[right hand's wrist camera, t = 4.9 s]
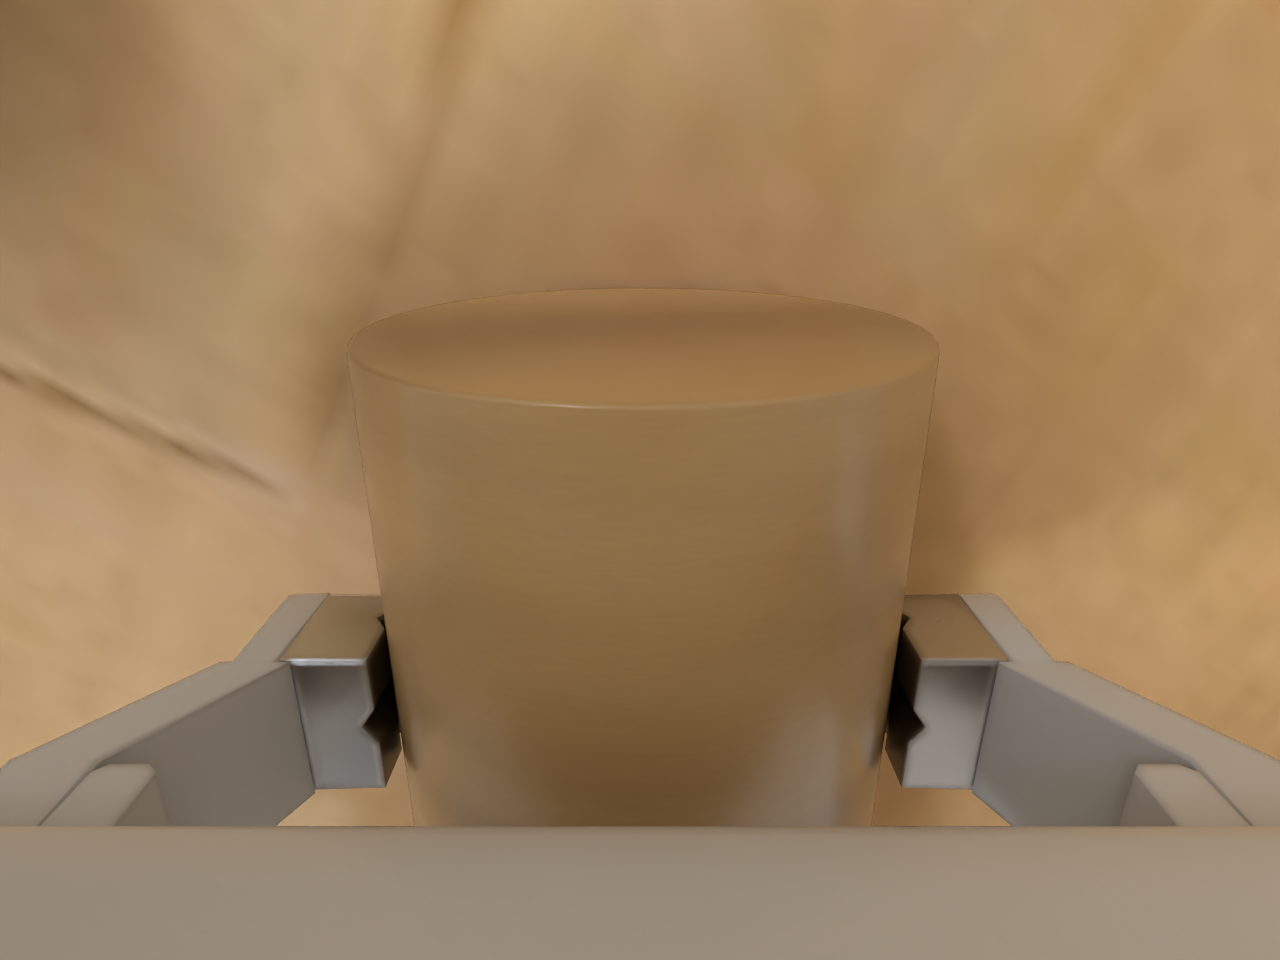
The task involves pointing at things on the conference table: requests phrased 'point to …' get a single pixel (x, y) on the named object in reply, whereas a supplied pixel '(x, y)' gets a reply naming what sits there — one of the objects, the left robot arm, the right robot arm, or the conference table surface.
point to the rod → (642, 551)
